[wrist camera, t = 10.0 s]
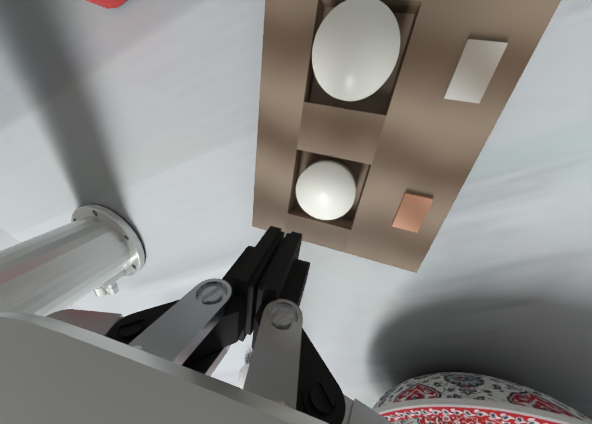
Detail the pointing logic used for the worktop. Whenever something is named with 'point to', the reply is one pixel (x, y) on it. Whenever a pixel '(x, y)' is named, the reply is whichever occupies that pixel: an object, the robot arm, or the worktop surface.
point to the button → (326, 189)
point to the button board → (388, 119)
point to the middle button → (356, 49)
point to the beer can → (108, 3)
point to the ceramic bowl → (472, 402)
